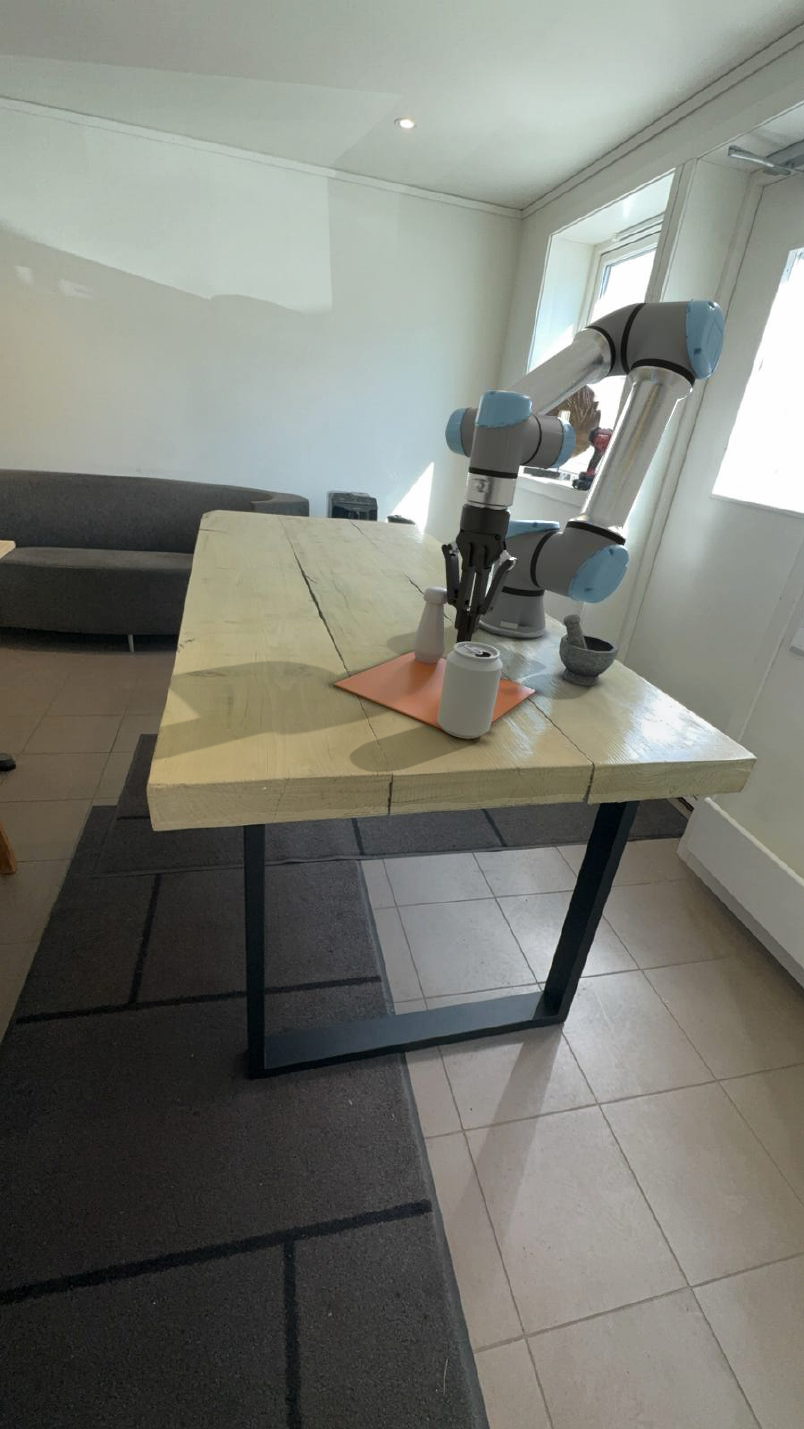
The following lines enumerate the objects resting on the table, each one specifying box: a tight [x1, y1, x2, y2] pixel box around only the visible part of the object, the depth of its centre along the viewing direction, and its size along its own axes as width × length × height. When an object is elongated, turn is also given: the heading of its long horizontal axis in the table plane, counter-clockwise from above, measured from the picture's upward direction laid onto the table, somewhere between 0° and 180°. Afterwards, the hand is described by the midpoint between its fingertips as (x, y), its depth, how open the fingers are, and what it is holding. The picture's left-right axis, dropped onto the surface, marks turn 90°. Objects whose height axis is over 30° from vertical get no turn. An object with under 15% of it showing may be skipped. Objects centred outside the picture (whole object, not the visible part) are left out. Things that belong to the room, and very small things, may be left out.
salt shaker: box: [412, 586, 448, 664], centre depth 103 cm, size 6×6×13 cm
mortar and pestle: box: [558, 613, 619, 687], centre depth 104 cm, size 11×9×12 cm
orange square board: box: [333, 650, 537, 741], centre depth 95 cm, size 24×24×1 cm
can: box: [437, 641, 504, 739], centre depth 80 cm, size 8×8×12 cm
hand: (462, 649), depth 101 cm, fingers closed
